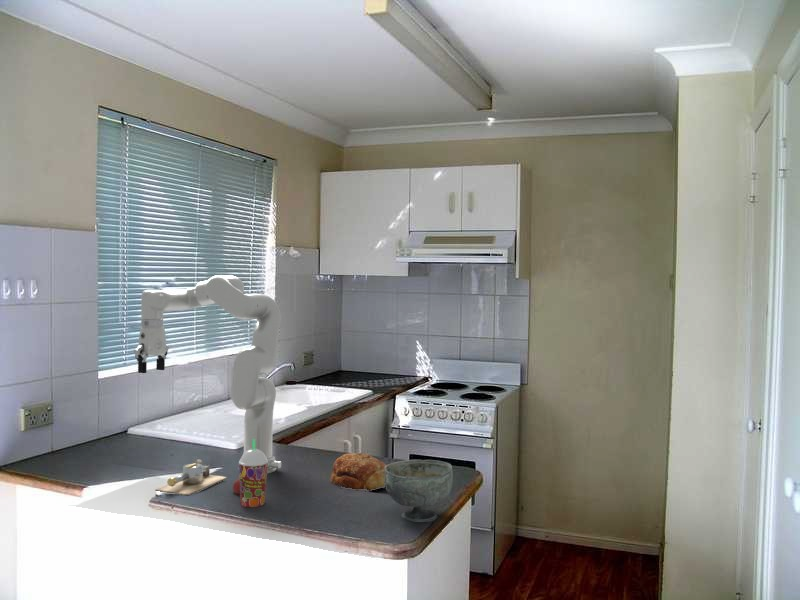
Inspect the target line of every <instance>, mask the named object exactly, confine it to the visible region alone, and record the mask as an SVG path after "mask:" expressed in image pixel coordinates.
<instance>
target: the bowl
mask: <svg viewBox="0 0 800 600" xmlns="http://www.w3.org/2000/svg"><path fill="white" fill-rule="evenodd" d="M386 465H387V466H385V481H384V484H385V487H386V488H385V491H386V492H387V494H388V496H389V497H390V498H391V499H392V500H394V501H395V502H396V503H397V504H398V505H400V506H403V507H411V509H407V510H405V511H404V512H403V513H402V514H401V517H402V518H403V519H404V520H407V521H410V522H414V523H429V522H432V521H435V520H436V519H437V518H438V515H437V513H435V512H434V511H433V510H430V509H427V507H431V506H435V505H438V504H439V503H441V502H443V501H444V500H445V499H446V498H447V497H448V496H449V495H450V493H451V491H452V488H453V479H454V478H453V477H454V472H453V466H452V464H451V463H449V462H446V461H442V460H437V459H436V460H435V459H405V460H401V461H396V462H395V461H394V462H391V463H389V464H386Z"/></svg>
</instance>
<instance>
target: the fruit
mask: <svg viewBox="0 0 800 600" xmlns="http://www.w3.org/2000/svg"><path fill="white" fill-rule="evenodd" d="M232 492H233V493H234V494H235V495H240V477H238V478H237V479H236V480H235V481H234V482H233V484H232Z"/></svg>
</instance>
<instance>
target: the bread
mask: <svg viewBox="0 0 800 600" xmlns="http://www.w3.org/2000/svg"><path fill="white" fill-rule="evenodd" d="M387 465H388V464H386V463H385V462H383V461H381V460H379V459H377V458H376V457H374V456H373V455H371V454H369V453H364V452H356V453H355V452H354V453H344V454H342V455H341V456H340V457H338V458H336V460H335V461H334V463H333V466H332V473H331V475H330V482H331V483H332V484H334V485H335V484H336V486H338V485H339V486H338V487H341V486H342V487H345V488H352V489H367V490H371V489H376V488H379V487H382V486H384V485H385V484H384V481H385V466H387Z"/></svg>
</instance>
